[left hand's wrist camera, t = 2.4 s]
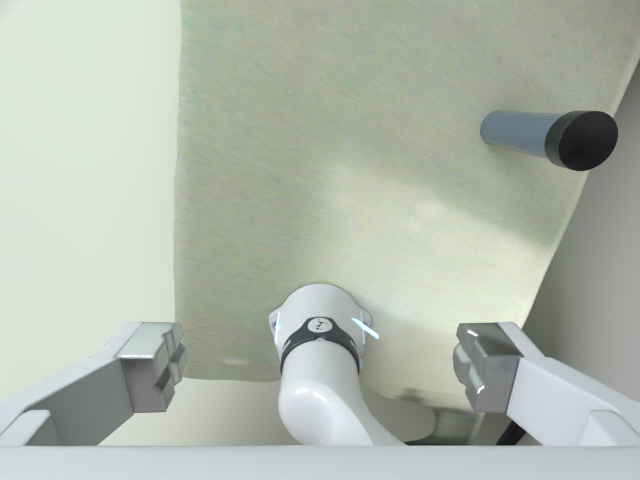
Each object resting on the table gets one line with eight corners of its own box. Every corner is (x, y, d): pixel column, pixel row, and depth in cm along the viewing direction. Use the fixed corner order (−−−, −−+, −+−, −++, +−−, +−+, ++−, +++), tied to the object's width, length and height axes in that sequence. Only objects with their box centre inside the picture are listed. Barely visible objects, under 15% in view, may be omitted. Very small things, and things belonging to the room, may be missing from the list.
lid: (583, 172, 39) (599, 176, 37) (534, 160, 39) (547, 163, 37) (610, 118, 37) (629, 119, 35) (559, 104, 37) (575, 104, 35)
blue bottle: (505, 148, 55) (594, 171, 37) (475, 140, 55) (551, 160, 37) (518, 115, 54) (619, 122, 36) (487, 107, 53) (574, 110, 35)
